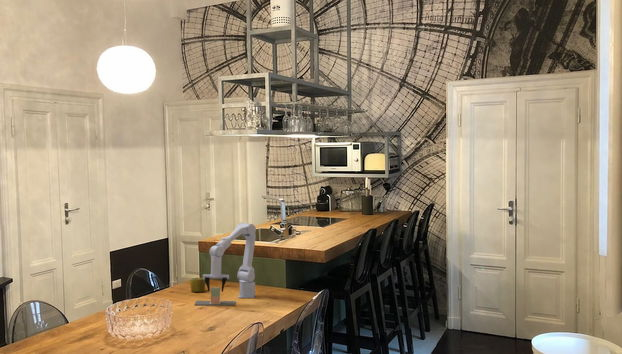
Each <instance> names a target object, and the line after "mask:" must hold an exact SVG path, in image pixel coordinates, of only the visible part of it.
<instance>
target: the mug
mask: <svg viewBox="0 0 622 354" xmlns="http://www.w3.org/2000/svg"><path fill="white" fill-rule="evenodd" d="M206 286H207V285H206V283H205V278H204V279H203V277H195V278H194V277H193V278H190V291H191V292H192V293H202V292H204V293H205V291H206Z"/></svg>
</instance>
